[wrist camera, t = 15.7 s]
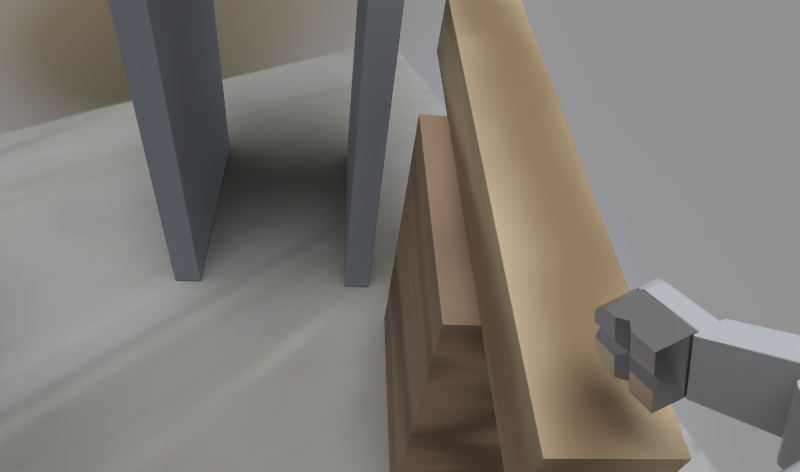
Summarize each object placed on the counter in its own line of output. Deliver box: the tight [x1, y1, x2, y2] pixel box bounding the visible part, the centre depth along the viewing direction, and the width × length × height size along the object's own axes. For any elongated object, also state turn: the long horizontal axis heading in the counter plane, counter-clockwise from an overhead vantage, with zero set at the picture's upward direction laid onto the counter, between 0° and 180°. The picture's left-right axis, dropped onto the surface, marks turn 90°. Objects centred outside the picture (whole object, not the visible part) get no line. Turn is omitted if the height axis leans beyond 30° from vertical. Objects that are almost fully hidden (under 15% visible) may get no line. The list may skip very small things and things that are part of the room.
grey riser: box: [108, 0, 404, 287], centre depth 34 cm, size 12×13×26 cm
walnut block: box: [385, 114, 504, 472], centre depth 29 cm, size 6×11×16 cm, turn 2°
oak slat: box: [437, 0, 691, 472], centre depth 22 cm, size 4×22×3 cm, turn 2°
